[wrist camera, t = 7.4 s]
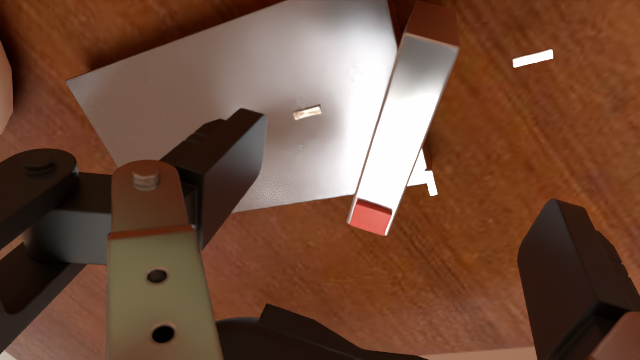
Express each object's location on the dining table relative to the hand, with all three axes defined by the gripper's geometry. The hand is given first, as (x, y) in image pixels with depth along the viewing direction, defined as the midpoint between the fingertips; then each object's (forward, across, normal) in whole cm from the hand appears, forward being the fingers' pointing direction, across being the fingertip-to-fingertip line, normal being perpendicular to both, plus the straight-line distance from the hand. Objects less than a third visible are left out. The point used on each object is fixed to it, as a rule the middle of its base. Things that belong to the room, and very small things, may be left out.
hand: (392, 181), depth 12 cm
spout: (+8, 0, 0) cm, 8 cm away
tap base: (+10, +6, +3) cm, 12 cm away
